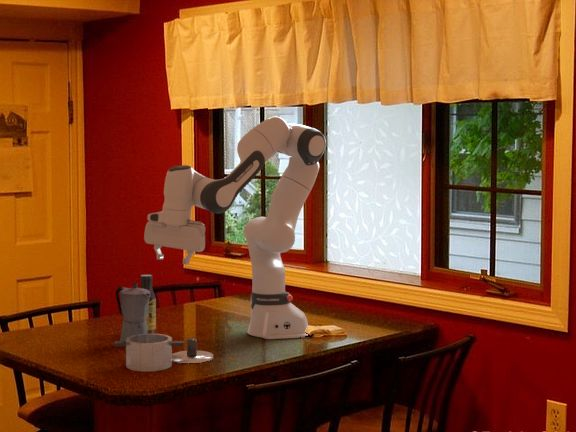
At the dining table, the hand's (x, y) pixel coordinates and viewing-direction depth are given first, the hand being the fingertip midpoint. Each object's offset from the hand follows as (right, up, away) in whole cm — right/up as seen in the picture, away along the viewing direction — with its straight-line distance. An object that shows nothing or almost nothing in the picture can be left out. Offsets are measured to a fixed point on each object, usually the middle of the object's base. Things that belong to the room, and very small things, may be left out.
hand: (172, 261), depth 292 cm
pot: (-5, -30, -16) cm, 34 cm away
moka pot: (-14, -27, +10) cm, 32 cm away
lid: (+7, -29, -7) cm, 31 cm away
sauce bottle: (-12, -26, +25) cm, 37 cm away
